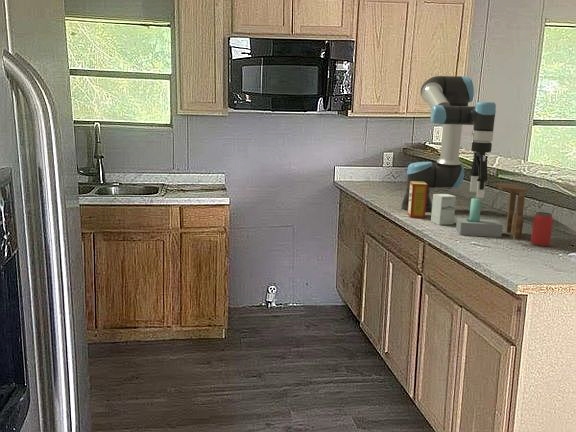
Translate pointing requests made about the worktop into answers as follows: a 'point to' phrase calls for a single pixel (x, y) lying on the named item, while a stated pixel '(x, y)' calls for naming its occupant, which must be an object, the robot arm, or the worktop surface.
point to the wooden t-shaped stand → (513, 219)
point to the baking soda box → (417, 199)
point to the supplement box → (443, 209)
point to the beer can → (542, 229)
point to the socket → (479, 227)
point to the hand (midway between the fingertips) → (476, 194)
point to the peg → (475, 210)
